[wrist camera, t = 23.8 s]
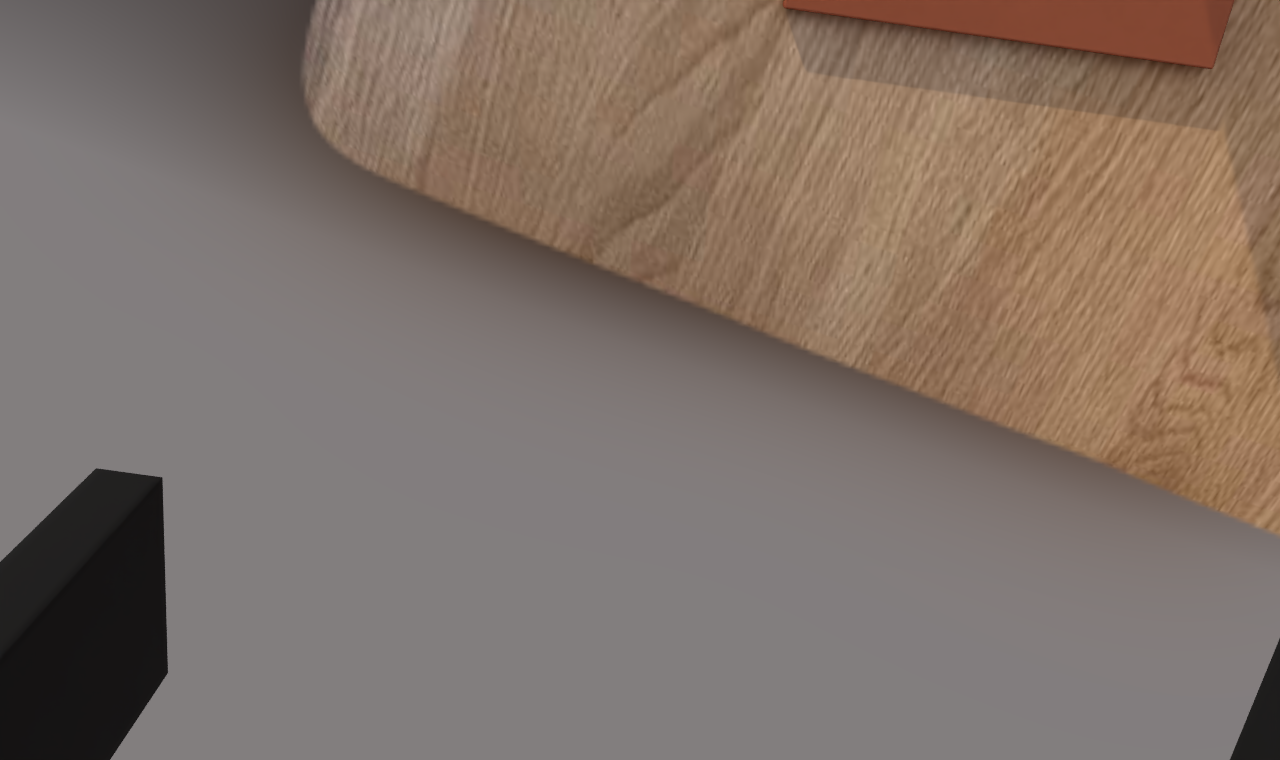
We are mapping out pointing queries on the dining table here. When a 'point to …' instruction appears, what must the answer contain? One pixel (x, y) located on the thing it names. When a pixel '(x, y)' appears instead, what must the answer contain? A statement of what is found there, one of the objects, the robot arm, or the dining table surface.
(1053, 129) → the dining table surface
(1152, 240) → the dining table surface
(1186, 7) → the terracotta mat
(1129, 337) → the dining table surface
